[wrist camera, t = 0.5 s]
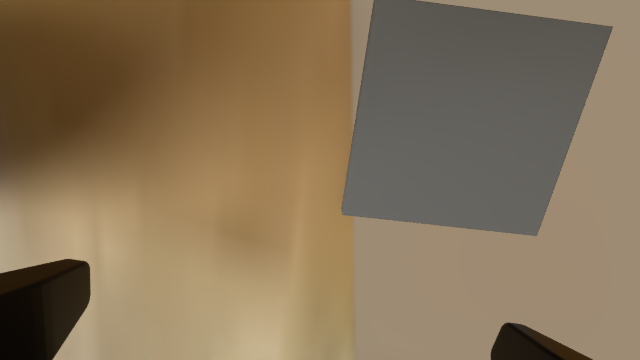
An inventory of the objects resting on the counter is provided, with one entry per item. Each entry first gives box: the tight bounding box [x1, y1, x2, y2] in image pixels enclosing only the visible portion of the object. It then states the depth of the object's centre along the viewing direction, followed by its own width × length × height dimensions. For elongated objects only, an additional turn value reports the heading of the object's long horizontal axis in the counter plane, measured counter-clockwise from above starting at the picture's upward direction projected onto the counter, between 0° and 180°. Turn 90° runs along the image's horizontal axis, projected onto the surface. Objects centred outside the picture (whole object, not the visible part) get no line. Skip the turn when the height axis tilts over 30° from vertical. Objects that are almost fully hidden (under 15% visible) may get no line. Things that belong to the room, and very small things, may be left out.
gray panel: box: [342, 0, 613, 236], centre depth 20 cm, size 11×11×1 cm
